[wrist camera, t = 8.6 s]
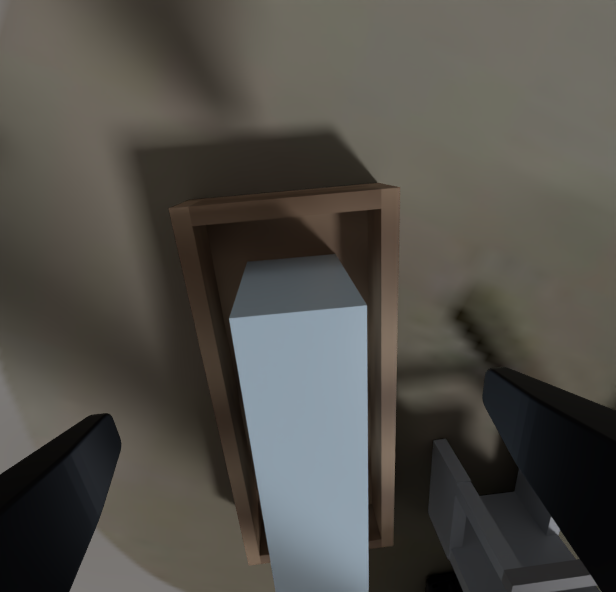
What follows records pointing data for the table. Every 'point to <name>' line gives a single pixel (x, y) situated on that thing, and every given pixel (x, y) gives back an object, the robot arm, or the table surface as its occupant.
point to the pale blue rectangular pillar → (307, 417)
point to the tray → (289, 244)
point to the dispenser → (499, 534)
